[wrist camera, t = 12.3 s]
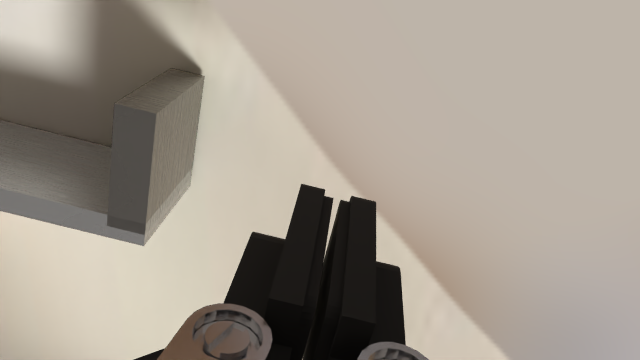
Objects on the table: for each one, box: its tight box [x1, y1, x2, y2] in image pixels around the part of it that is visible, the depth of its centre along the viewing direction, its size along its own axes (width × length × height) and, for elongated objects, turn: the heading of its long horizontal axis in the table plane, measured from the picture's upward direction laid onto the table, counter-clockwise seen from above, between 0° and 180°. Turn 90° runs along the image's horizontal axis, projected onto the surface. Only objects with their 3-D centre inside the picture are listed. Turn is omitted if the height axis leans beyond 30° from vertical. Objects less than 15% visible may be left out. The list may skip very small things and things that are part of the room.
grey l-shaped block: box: [0, 68, 204, 246], centre depth 18 cm, size 4×10×4 cm, turn 77°
